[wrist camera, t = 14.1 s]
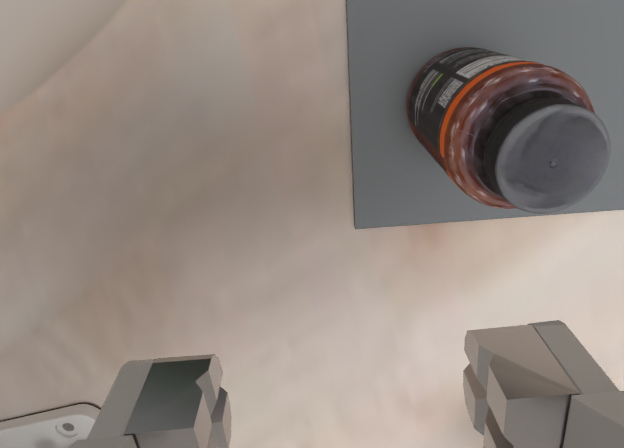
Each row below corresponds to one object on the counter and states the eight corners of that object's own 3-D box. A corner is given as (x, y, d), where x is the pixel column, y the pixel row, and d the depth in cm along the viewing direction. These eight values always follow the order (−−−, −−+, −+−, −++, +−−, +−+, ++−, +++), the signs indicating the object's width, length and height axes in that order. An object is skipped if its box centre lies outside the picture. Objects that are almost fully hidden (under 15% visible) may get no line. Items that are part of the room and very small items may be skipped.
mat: (354, 226, 31) (355, 229, 30) (345, -22, 25) (346, -22, 24) (690, 201, 30) (694, 204, 30) (763, -55, 24) (770, -56, 24)
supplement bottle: (499, 154, 28) (611, 244, 18) (398, 151, 28) (453, 240, 18) (522, 46, 26) (668, 79, 16) (411, 41, 26) (484, 72, 15)
